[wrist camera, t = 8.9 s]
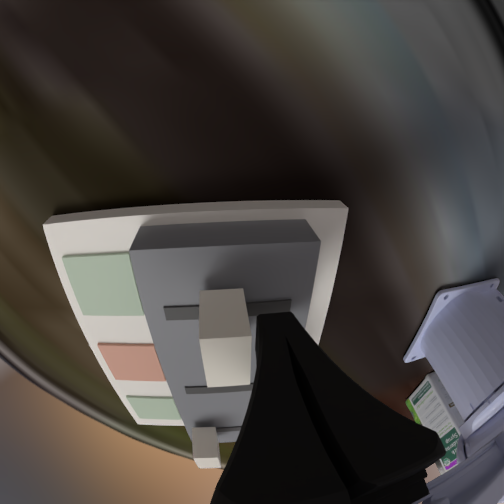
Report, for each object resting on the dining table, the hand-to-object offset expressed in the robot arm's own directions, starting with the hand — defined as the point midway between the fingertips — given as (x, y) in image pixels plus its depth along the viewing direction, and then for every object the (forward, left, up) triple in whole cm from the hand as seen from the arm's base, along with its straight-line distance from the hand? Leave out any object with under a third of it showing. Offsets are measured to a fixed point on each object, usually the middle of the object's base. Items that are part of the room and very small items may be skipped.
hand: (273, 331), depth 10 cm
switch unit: (+3, +6, -4) cm, 8 cm away
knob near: (+2, 0, -1) cm, 2 cm away
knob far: (+4, +12, -1) cm, 13 cm away
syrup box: (-22, +19, -5) cm, 30 cm away
